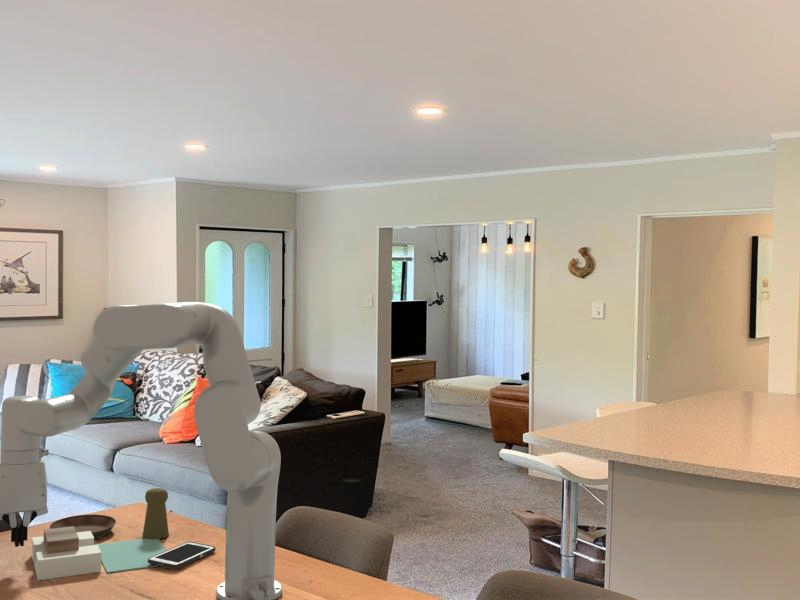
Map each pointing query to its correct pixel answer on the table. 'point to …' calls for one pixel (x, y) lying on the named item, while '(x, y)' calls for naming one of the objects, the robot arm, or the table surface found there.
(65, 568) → the slotted block
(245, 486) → the robot arm
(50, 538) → the brown flat block
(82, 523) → the saucer
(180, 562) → the cell phone
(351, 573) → the table surface
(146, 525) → the pepper mill
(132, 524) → the table surface
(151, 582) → the table surface
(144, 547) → the mat
